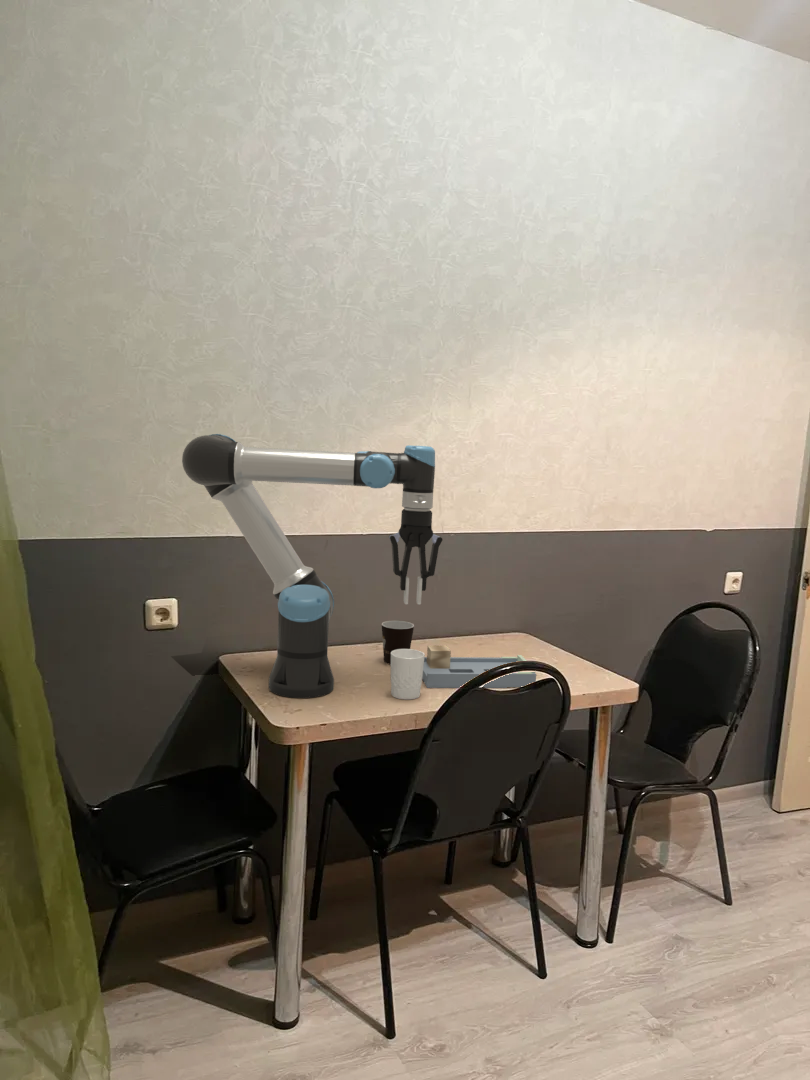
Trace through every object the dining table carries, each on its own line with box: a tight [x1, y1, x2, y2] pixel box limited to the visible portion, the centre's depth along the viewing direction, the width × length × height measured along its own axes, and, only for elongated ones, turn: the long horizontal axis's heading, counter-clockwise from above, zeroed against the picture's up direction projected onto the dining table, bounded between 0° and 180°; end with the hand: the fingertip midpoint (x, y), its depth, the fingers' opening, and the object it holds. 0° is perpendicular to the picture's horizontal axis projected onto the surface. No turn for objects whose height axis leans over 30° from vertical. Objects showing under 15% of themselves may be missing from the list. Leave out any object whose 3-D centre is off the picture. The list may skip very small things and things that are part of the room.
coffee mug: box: [381, 620, 415, 665], centre depth 215 cm, size 12×9×10 cm
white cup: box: [390, 648, 426, 700], centre depth 188 cm, size 8×8×10 cm
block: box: [426, 644, 452, 669], centre depth 204 cm, size 5×5×4 cm
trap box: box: [422, 654, 537, 689], centre depth 203 cm, size 27×14×4 cm, turn 99°
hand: (412, 603), depth 201 cm, fingers open, 3 cm apart
